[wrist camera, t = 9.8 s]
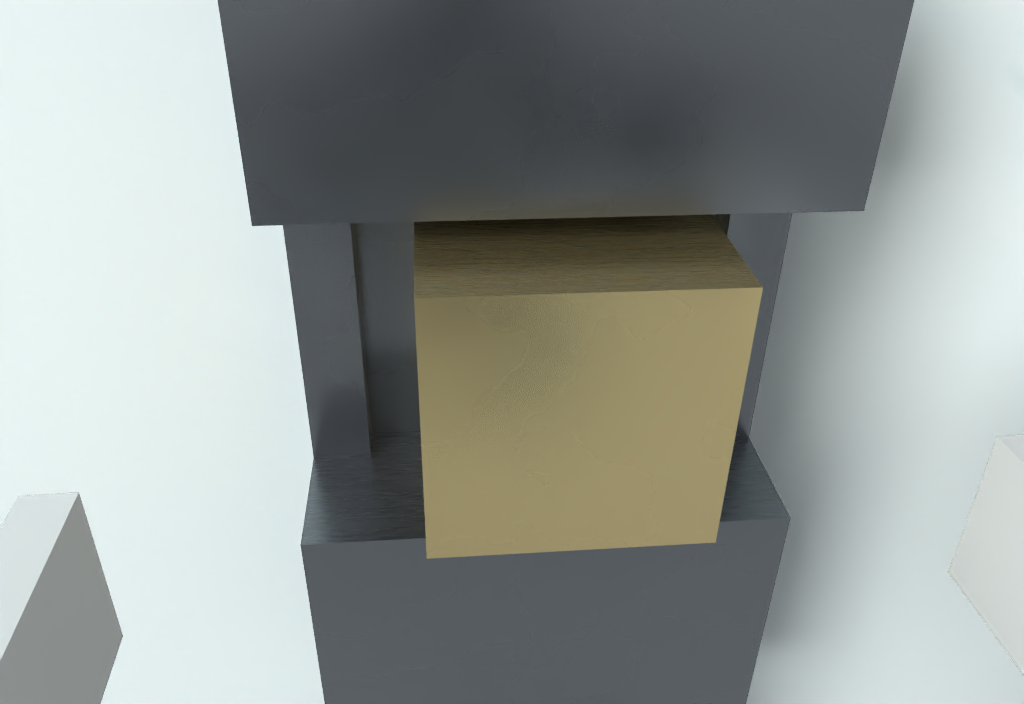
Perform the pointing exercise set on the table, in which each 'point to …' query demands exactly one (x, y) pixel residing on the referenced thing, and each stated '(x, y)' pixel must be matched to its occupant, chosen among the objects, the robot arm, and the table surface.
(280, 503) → the table surface
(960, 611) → the table surface
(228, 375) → the table surface
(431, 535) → the sand colored cube
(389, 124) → the grey stepped block holder
